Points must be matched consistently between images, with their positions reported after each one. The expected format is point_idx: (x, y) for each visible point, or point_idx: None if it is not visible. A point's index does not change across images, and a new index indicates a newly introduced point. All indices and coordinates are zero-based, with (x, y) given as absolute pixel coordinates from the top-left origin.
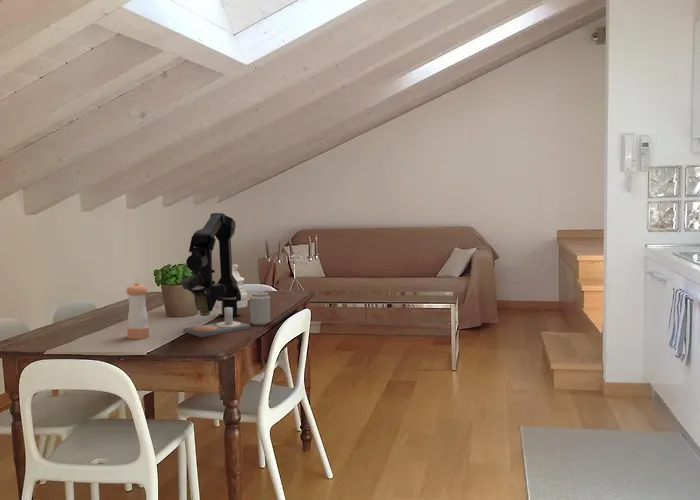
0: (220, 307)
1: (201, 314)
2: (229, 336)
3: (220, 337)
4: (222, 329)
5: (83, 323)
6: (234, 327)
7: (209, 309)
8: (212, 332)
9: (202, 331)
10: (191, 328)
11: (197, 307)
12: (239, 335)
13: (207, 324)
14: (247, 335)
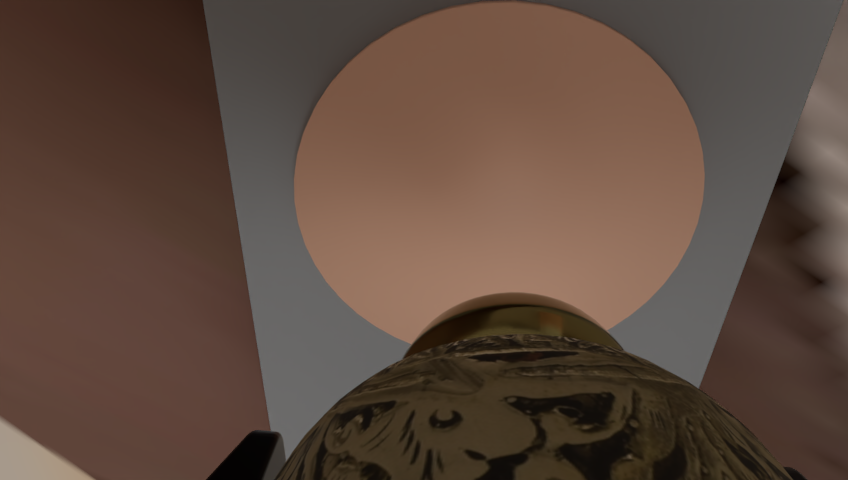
0: None
1: (493, 302)
2: (57, 240)
3: (56, 135)
4: (284, 321)
5: None
6: (293, 445)
7: (216, 468)
8: (231, 154)
9: (348, 61)
10: (713, 69)
11: (540, 368)
12: (52, 332)
13: (701, 365)
14: (11, 377)
